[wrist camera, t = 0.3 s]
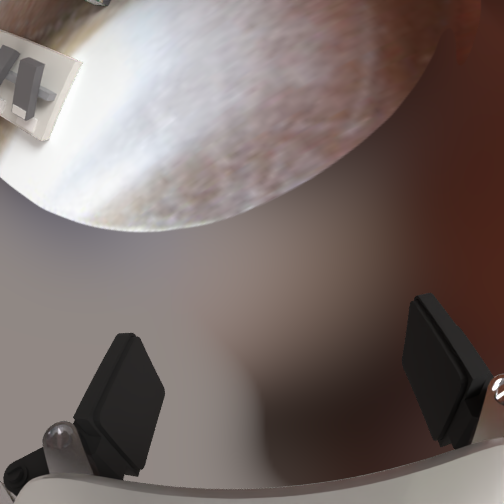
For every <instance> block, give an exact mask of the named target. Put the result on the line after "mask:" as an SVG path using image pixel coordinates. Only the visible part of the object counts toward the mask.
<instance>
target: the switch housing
mask: <svg viewBox="0 0 504 504" xmlns="http://www.w3.org/2000/svg"><path fill="white" fill-rule="evenodd" d="M2 45H5V46H8V47H10V48H12V49H15V50H16V51H18V52H19V53H20V55H19V57H18V58H17V60H16V61H15V63H14V64H13V66H12V68H11V69H10V71H9V72H8V74H7V76H6V77H5V79H4V80H3V82H2V84H1V86H0V116H2V117H3V118H5V119H6V120H8V121H9V122H11V123H13V124H14V125H16V126H17V127H19V128H21V129H22V130H24V131H25V132H27V133H29V134H30V135H32V136H33V137H35V138H37V139H38V140H40V141H45V140H49V139H50V136H51V133H52V131H53V128H54V125H55V123H56V120H57V118H58V115H59V113H60V111H61V108H62V106H63V104H64V101H65V99H66V97H67V95H68V92H69V90H70V88H71V86H72V84H73V82H74V80H75V78H76V76H77V74H78V72H79V70H80V68H81V66H82V64H83V62H80V61H78V60H76V59H74V58H71V57H69V56H67V55H65V54H62V53H60V52H58V51H55V50H53V49H50V48H48V47H46V46H43V45H41V44H38V43H36V42H33V41H31V40H28V39H25V38H23V37H20V36H18V35H15V34H12V33H9V32H7V31H4V30H1V29H0V48H1V47H2ZM27 57H30V58H32V59H35V60H37V61H39V62H41V63H43V64H45V67H44V71H43V75H42V79H41V84H40V88H39V93H38V98H37V103H36V109H35V114H34V117H33V118H31V119H29V120H27V121H25V120H23V119H22V118H20V117H18V116H17V115H15V114H14V113H12V112H11V110H12V103H13V96H14V90H15V84H16V78H17V73H18V68H19V63H20V60H21V59H24V58H27Z"/></svg>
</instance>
